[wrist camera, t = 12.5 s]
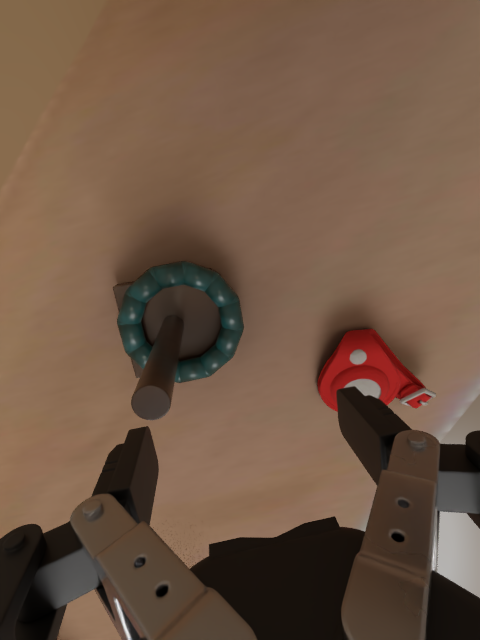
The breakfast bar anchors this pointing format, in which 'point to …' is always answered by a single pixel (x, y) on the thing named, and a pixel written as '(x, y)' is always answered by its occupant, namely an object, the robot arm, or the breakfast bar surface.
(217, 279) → the ring
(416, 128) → the breakfast bar surface
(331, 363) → the tracker holder
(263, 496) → the breakfast bar surface
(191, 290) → the brown peg stand
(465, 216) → the breakfast bar surface
